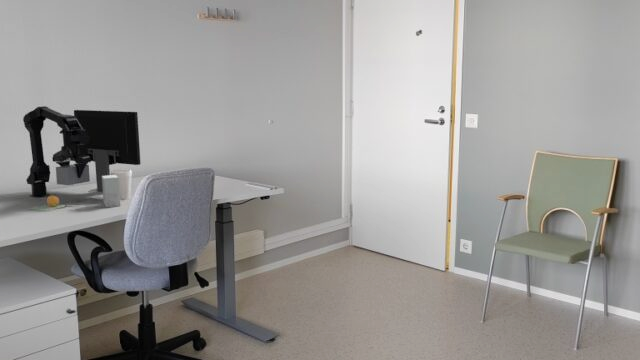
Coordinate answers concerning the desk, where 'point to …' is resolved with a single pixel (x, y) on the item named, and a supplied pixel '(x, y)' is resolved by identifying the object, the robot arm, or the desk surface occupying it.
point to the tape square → (47, 207)
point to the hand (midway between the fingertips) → (73, 177)
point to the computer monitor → (109, 140)
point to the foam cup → (123, 182)
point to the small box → (111, 190)
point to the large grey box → (71, 175)
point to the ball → (52, 201)
